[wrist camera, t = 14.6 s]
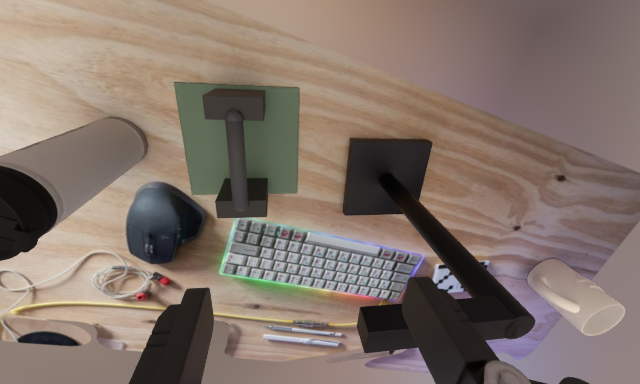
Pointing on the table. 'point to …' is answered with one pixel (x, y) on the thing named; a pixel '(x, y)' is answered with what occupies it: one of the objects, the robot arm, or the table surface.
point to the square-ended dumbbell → (238, 151)
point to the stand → (403, 198)
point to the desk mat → (259, 136)
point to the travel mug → (61, 178)
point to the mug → (575, 297)
